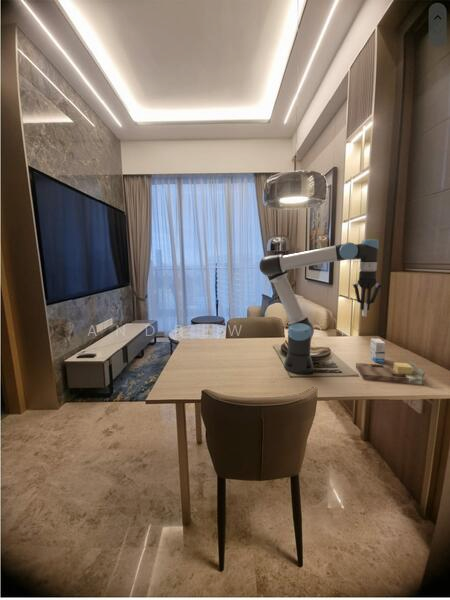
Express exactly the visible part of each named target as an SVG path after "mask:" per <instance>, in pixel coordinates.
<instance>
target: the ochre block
mask: <svg viewBox="0 0 450 600" xmlns="http://www.w3.org/2000/svg"><path fill="white" fill-rule="evenodd" d="M393 366H394V370H395V371H396V372H397V373H399V374H411V375H412V369H413V368H412V367H411V366H410V365H409V364H408V363H406V362H396V361H395V362H393Z"/></svg>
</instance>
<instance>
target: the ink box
mask: <svg viewBox="0 0 450 600" xmlns="http://www.w3.org/2000/svg"><path fill="white" fill-rule="evenodd" d="M369 348H370V349H369V358H370V359H371V360H372V361H374V362H375V364H378V363H379V364H385V358H386V342H385V341H383V340H382V339H380V338H370V347H369Z"/></svg>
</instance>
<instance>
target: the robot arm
mask: <svg viewBox="0 0 450 600" xmlns="http://www.w3.org/2000/svg"><path fill="white" fill-rule="evenodd" d="M379 242H380V241H379V240H378V239H373V238H372V239H371V238H370V239H363V240H361V243H353V242H350V241H349V242H345V243H341V244H337V245H331V246H327V247H321V248H317V249H311V250H306V251H301V252H297V253H290V254H286V255H284V254H282V253H281V254H272V255H271V254H268V255H265V256H264V257H262V258H261V259H260V262H259V264H258V265H259V270H260V272H261V274H263V275H265V276H266V277H267V278H268V281H269V282H270V283H272V284H273V286H274V288H275V291H276V292H277V295H278V297H279V299H280V302H281V305H282V306H283V310H284V312H285V313H286V316H287V318H288V321H287V322H288V323H287V325H288V329H287V355H286V357H285V360H284V363H283V368H284V369H285V370H286V371H287V372H290V373H293V374H300V375H301V374H302V375H304V374H309V373H312V372H313V371H314V363H313V360H312V357H311V345H312V344H311V342H312V340H313V339H312V338H313V336H314V332H315V331H314V326H313V324H312V322H310V320H309V318H308V315H305V314H304V313H303V311H302V309H301V306H300V304H299V302H298V300H297V297H296V295H295V293H294V290H293V289H292V286H291V283H290V281H289V279H288V275H289V272H288V270H293V269H297V268H298V269H300V268H305V267H312V266H317V265H323V264H327V263H333V262H340V261H345V260H360V261H359V262H360V263H359V270H360V271H359V272H358V280H357V281H356V283H353V284H352V287H353V288H354V292H355V297H356V301H357V303H359V304H360V310H361V316H362V317H365V318H367V315H368V314H367V313H368V311H369V310H370V305H371V304H374V303H375V301H376V298H377V295H378V292H379V290H380V289H381V287H382V285H381V284H380V283H378V281H377V267H378V260H379V259H378V257H379ZM359 287H360V288H361V295H360V291H359ZM373 288H374V289H373ZM372 289H373V292H372Z"/></svg>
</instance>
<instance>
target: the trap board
mask: <svg viewBox="0 0 450 600" xmlns="http://www.w3.org/2000/svg"><path fill="white" fill-rule="evenodd" d="M408 364H409V365H410V366H411V367H412V368H413V369H412V375H411V374H399V373H397V372H396V371H395V370H394V365H389V364H378V363H375V364H374V363H364V362H363V363H361V362H356V363H355V369H356V370H357V371H358V373H359V375H360V376H361V378H362V379H363V380H367V381H368V380H369V381H377V382H389V383H390V382H391V383H401V384H411V385H412V384H414V385H422V386H423V385H424V384H425V371H424V370H423V369H422V368H420V367H419V366H418V365H417V364H416V363H414V362H413V361H412V360H408Z"/></svg>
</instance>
